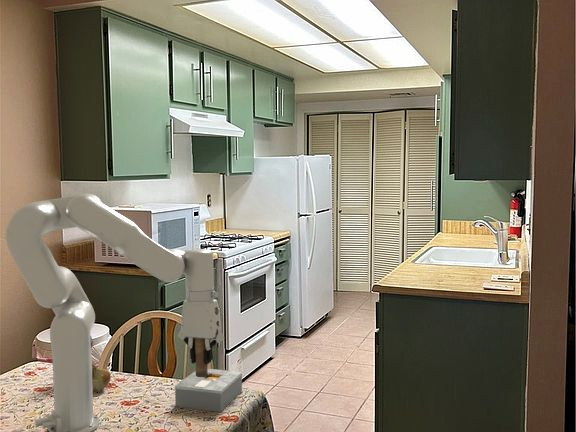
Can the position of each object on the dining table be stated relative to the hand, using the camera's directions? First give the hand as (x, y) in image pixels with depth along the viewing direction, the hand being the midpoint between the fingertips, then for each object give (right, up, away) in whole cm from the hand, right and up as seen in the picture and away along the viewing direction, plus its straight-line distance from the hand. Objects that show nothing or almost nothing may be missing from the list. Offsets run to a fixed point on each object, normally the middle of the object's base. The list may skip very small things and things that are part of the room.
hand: (201, 361), depth 158 cm
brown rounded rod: (0, -4, 0) cm, 4 cm away
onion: (-35, -14, +21) cm, 43 cm away
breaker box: (0, -14, +14) cm, 20 cm away
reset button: (+1, -13, +16) cm, 21 cm away
